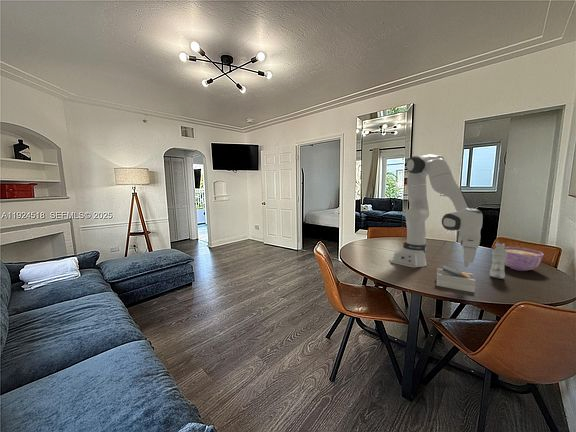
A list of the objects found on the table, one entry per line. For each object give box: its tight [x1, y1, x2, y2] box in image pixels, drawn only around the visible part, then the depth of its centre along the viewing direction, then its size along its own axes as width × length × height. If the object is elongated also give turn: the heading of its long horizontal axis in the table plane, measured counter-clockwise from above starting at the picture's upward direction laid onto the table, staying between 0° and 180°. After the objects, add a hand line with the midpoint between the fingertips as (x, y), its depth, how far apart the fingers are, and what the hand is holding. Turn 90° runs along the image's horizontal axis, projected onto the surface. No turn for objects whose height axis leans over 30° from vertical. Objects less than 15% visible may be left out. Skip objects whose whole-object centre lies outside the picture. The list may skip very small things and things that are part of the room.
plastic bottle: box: [489, 242, 507, 279], centre depth 134 cm, size 6×7×20 cm
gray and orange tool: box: [441, 264, 470, 279], centre depth 125 cm, size 12×6×2 cm, turn 58°
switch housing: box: [435, 268, 476, 293], centre depth 126 cm, size 16×12×6 cm
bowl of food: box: [504, 246, 544, 272], centre depth 148 cm, size 20×20×12 cm
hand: (465, 265), depth 123 cm, fingers closed
